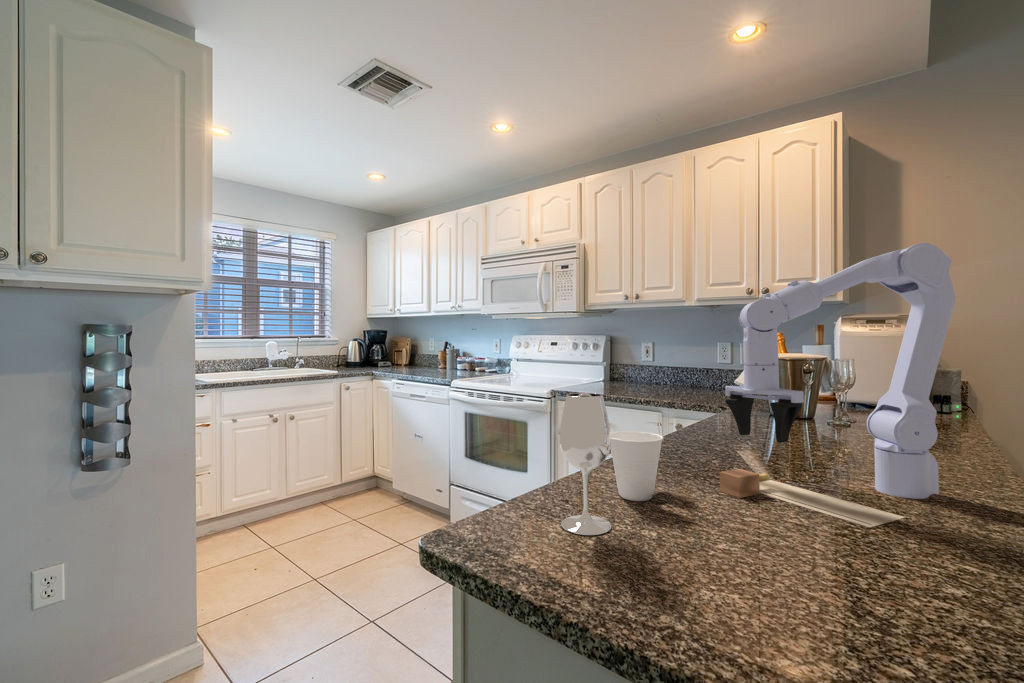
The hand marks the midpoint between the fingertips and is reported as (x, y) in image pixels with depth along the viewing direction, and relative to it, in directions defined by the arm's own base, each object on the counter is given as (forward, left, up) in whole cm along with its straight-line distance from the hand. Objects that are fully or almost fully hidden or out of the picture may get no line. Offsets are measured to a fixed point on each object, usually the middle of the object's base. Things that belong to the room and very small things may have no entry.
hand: (762, 438), depth 86 cm
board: (0, +9, -10) cm, 14 cm away
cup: (+22, -9, -10) cm, 26 cm away
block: (+6, +1, -10) cm, 12 cm away
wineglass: (+38, -1, -10) cm, 40 cm away
